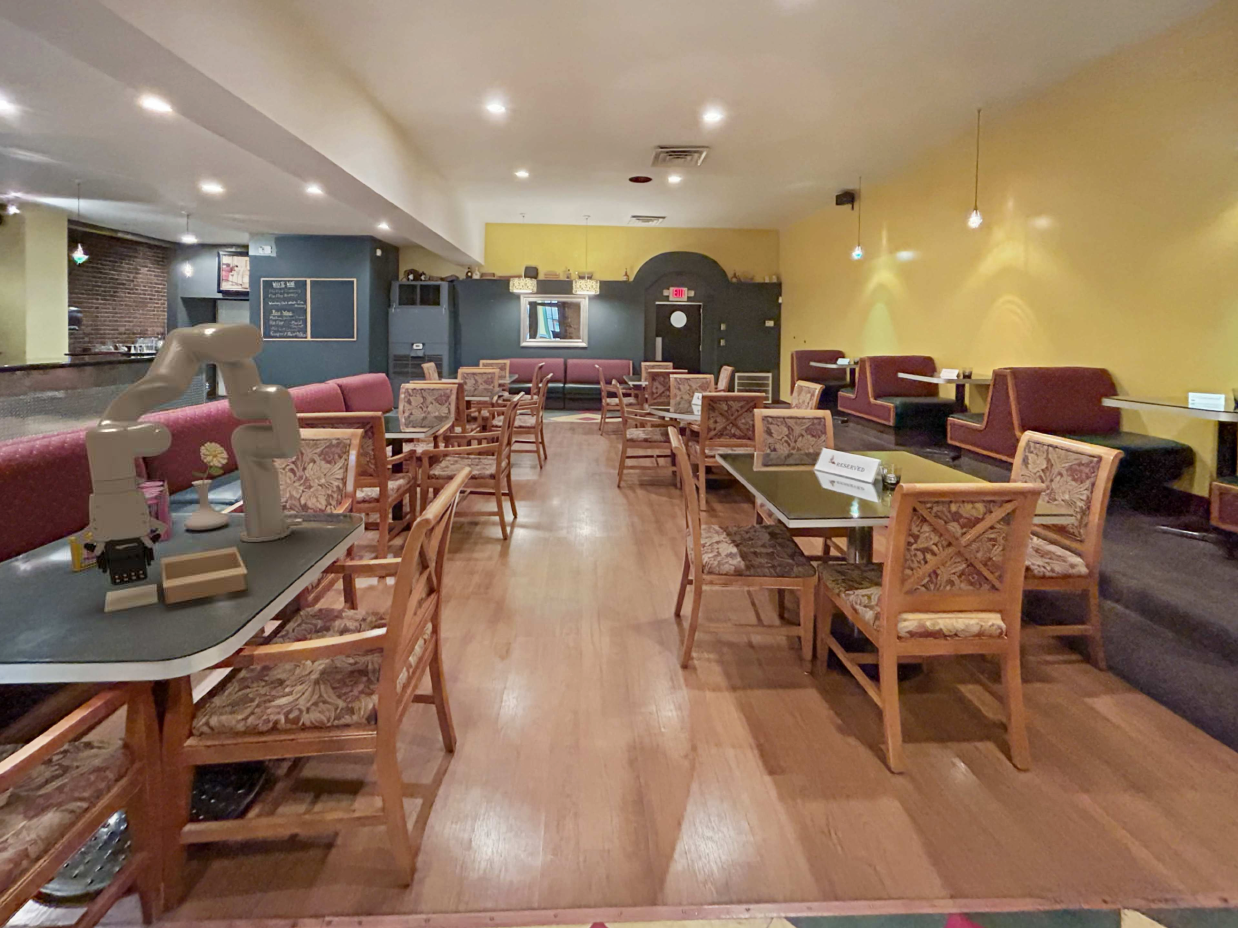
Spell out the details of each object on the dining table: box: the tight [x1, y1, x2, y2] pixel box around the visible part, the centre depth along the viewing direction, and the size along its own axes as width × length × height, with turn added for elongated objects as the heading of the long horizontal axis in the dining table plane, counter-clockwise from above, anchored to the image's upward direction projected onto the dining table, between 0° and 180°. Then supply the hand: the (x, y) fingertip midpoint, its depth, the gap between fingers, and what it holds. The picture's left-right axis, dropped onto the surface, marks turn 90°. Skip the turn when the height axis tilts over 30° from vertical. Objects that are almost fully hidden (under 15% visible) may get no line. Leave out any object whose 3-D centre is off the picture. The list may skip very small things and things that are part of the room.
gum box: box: [138, 478, 174, 542], centre depth 196 cm, size 24×8×14 cm, turn 31°
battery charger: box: [104, 538, 149, 587], centre depth 146 cm, size 7×4×11 cm, turn 133°
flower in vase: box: [183, 441, 230, 531], centre depth 200 cm, size 13×11×25 cm
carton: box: [160, 546, 249, 605], centre depth 153 cm, size 15×22×5 cm
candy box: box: [68, 533, 104, 572], centre depth 172 cm, size 16×2×8 cm, turn 168°
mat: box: [103, 583, 159, 613], centre depth 147 cm, size 9×12×1 cm
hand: (127, 567), depth 146 cm, fingers closed on battery charger, 7 cm apart
